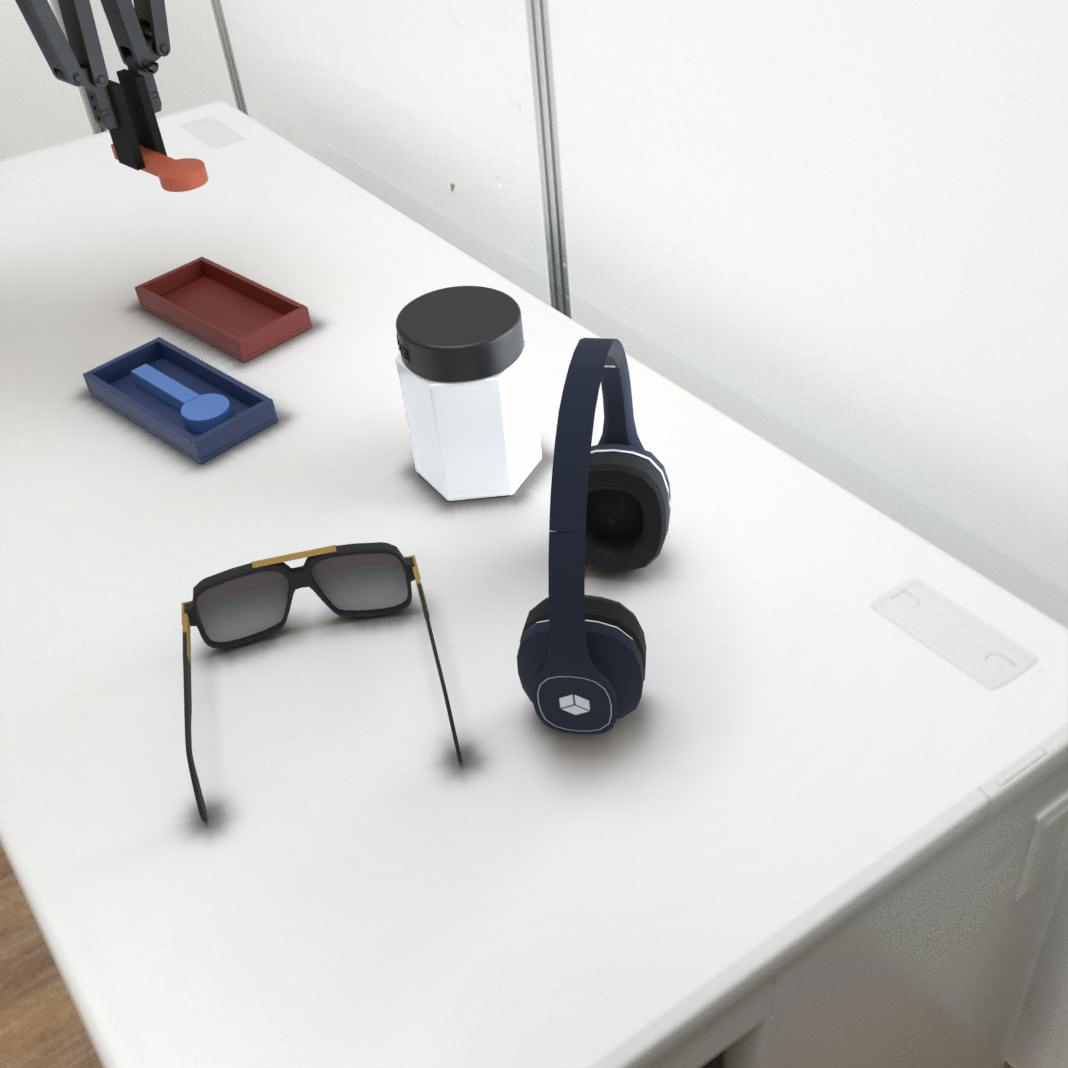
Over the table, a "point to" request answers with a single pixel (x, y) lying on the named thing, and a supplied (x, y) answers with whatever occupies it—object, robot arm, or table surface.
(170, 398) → the blue spoon
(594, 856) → the table surface
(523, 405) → the jar
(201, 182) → the red spoon
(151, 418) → the blue tray
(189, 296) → the red tray
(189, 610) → the sunglasses
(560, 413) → the headphones
